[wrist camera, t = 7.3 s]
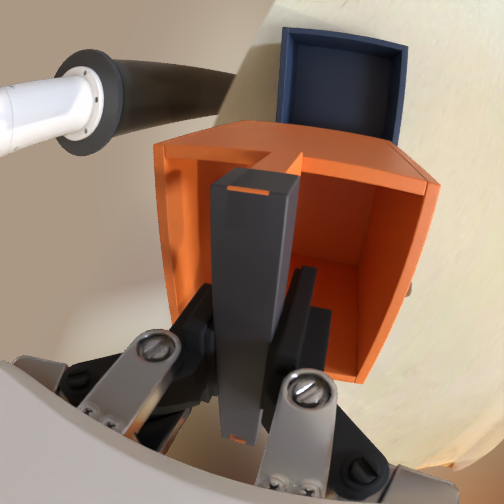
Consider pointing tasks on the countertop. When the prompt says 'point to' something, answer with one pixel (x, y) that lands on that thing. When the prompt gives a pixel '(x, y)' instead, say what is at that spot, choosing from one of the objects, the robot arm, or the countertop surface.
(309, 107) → the bin outer
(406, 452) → the countertop surface
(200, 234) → the basket
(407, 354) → the countertop surface
